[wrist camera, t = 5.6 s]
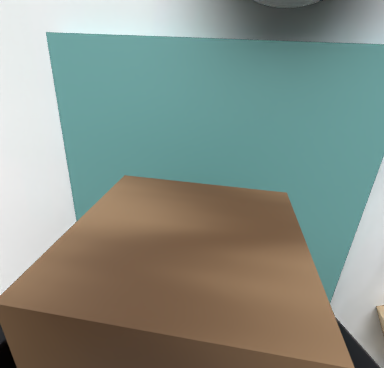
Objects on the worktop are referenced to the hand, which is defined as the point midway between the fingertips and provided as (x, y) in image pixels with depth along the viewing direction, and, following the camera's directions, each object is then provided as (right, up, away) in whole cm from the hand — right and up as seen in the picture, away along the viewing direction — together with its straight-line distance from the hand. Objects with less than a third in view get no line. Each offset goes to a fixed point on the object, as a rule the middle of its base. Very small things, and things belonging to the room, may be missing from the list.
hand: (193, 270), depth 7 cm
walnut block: (0, 0, +1) cm, 1 cm away
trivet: (+1, +2, +4) cm, 5 cm away
